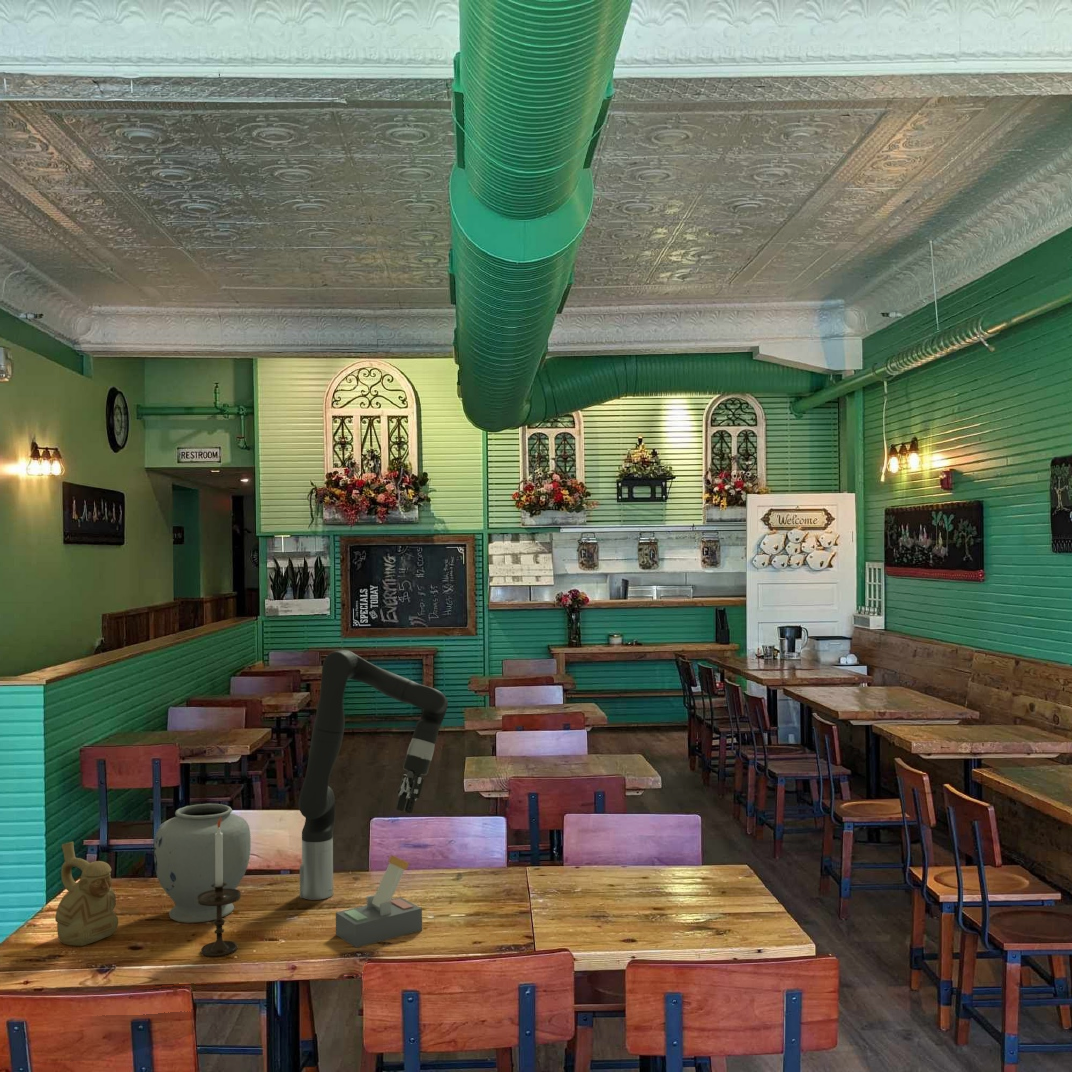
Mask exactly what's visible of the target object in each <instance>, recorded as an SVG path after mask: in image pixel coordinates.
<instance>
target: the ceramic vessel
mask: <svg viewBox="0 0 1072 1072" xmlns="http://www.w3.org/2000/svg"><path fill="white" fill-rule="evenodd" d="M61 849H62V851H63V857H64V862H63V863H62V865H61V871H60V873H61V882H62V884H63V887H64V888H65V889H66V890H67V892H66V893H65V894H64V895H63V897H62V898H61V900H59V903H58V905H57V908H56V911H55V912H56V913H55V918H54V919H55V922H56V924H57V925H56V928H57V929H56V930H57V937H58V940H59V942H60V943H61V944H64V945H67V946H80V947H82V946H83V947H84V946H87V945H89V944H93V943H96V942H98V941H101V940H103V939H105V938H108V937H110V936H112V935H113V934H115V931H116V930H117V929H118V926H119V918H118V916H117V914H116V913H115V912H114V909H115V907H116V905H117V903H116V902H117V900H116V894H115V891H114V889H113V888H112V887H111V886H112V882H113V880H112V877H111V875H112V873H111V872H112V867H111V866H110V864H109V863H107V862H106V861H102V860H96V861H92V862H90V861H88V860H86V859H84V858H81V857H76V852H75V847H74V841H70V842H66V843H62V844H61ZM73 867H74V868H78V869H79V870H80V871H81V874H80V878H79V880H78V881H77V882H76V881H75V879H74V877H73V876H72V875H73V874H72V870H73V869H72V868H73Z"/></svg>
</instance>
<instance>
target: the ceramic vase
mask: <svg viewBox="0 0 1072 1072" xmlns="http://www.w3.org/2000/svg"><path fill="white" fill-rule="evenodd" d="M174 815H175V816H174V817H171V818H169V819H168V820H165V821H164V822H162V823H161V824H160V825H159V826H158V828H157V830H156V832H155V837H154V842H153V843H154V844H153V858H154V859H153V861H154V868H155V869H154V870H155V874H156V877H157V881H158V882H159V884H160V886H161V887H162V889H163V890H164V891H165V893H166V895H168V897H169V898H170V899H171V900H172V901H173V902H174V907H172V909H171V910H170V911H169V913H168V914H169V917H170V919H171V920H173V921H175V922H178V923H185V924H186V923H189V924H190V923H191V924H195V923H204V922H211V921H215V920H216V919H217V906H204V905H200V904H198V902H197V897H198V895H200V894H201V893H204V892H206V891H210V890H215V888H214V887H211V885H213V884H215V834H216V833H217V830H218V828H220V831H221V833H223V883H226V884H227V885H226V886H224V887H223V889H224V888H229V889H236V890H237V888H238V886H239V885H240V883H241V881H242V880H243V878H244V876H245V874H246V872H247V869H248V866H249V861H250V859H251V858H250V856H251V851H252V850H251V847H252V844H251V843H252V841H251V840H252V839H251V830H250V825H249V823H248V822H247V820H246V819H245V818H243V817H242V816H240V815H238V814H234V813H233V809H232V808H231V806H228V805H226V804H222V803H220V804H219V803H202V804H201V803H200V804H193V805H185V806H184V807H180V808H178V809H176V810H175V812H174ZM220 817H221V819H222V820H221V824H220V827H218V826H217V824H218V821H219V819H220ZM234 908H235V906H234V904H233V903H231V904H227V905H222V918H223V917H226V916H228V915H230V914H231V913H232V912H233V911H234Z"/></svg>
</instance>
